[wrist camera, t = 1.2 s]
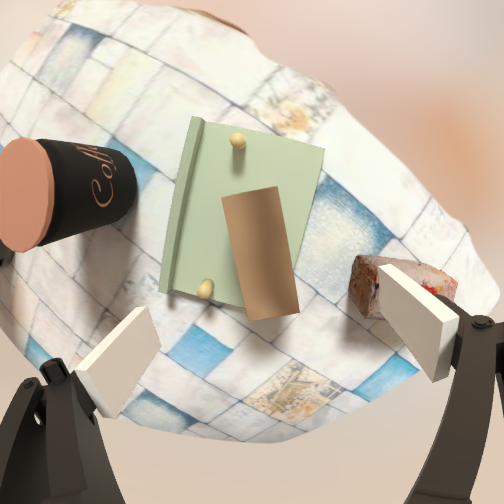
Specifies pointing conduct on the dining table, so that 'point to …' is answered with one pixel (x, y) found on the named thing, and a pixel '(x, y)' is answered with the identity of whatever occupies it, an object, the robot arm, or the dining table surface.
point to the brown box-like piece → (261, 253)
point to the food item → (430, 278)
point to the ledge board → (224, 184)
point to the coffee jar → (60, 190)
